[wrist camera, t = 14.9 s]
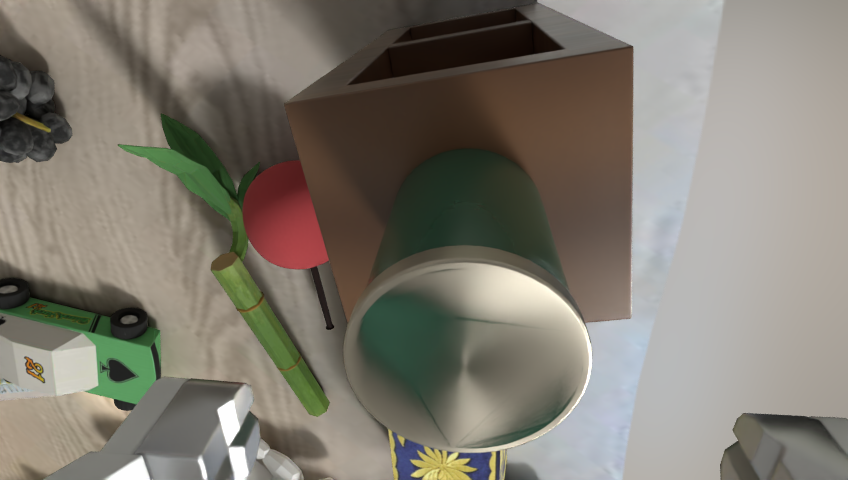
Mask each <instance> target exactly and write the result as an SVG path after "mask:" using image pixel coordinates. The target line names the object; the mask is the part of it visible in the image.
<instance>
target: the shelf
mask: <svg viewBox="0 0 848 480" xmlns="http://www.w3.org/2000/svg"><path fill="white" fill-rule="evenodd" d="M284 107H285V111H286V114H287V118H288V121H289V124H290V128H291V131H292V135H293V138H294V142H295V145H296V148H297V152H298V155H299V159H300V162H301V166H302V169H303V172H304V176H305V179H306V183H307V186H308V190H309V193H310V196H311V200H312V203H313V207H314V210H315V214H316V217H317V221H318V224H319V227H320V231H321V234H322V238H323V241H324V245H325V248H326V251H327V255H328V258H329V262H330V265H331V269H332V272H333V275H334V279H335V282H336V286H337V289H338V293H339V296H340V299H341V303H342V306H343V310H344V313H345V317H346V320H347V323H349V320H350V317H351V314H352V311H353V309H354V307H355V305H356V303H357V301H358V299H359V297H360V296H361V294H362V293H363V291H364V290H365V288H366V285H367V282H368V279H369V276H370V273H371V270H372V267H373V264H374V261H375V258H376V255H377V252H378V249H379V246H380V243H381V240H382V237H383V234H384V231H385V228H386V225H387V222H388V219H389V216H390V213H391V210H392V207H393V204H394V201H395V198H396V195H397V193H398V191H399V189H400V187H401V185H402V183H403V182H404V180H405V179H406V178H407V176H408V175H409V174H410V173H411V172H412V171H413V170H414V169H415V168H416V167H417V166H418V165H420V164H421V163H423V162H424V161H425V160H427V159H429V158H431V157H433V156H435V155H437V154H440V153H443V152H446V151H450V150H455V149H464V148H472V149H482V150H487V151H491V152H494V153H497V154H500V155H502V156H504V157H506V158H508V159H510V160H511V161H513V162H514V163H516V164H517V165H518V166H520V167H521V168H522V169H523V170H524V171H525V172H526V173H527V174H528V175H529V176H530V178H531V179H532V181H533V182H534V184H535V185H536V187H537V189H538V191H539V193H540V196H541V200H542V203H543V206H544V209H545V213H546V216H547V219H548V222H549V226H550V229H551V232H552V235H553V239H554V242H555V245H556V248H557V252H558V255H559V258H560V261H561V265H562V268H563V271H564V275H565V278H566V281H567V284H568V288H569V291H570V294H571V296H572V297H573V298H574V300H575V301H576V303H577V305H578V307H579V309H580V311H581V313H582V315H583V318H584V322H585V323H587V322H598V321H609V320H620V319H630V318H631V317H632V185H633V46H631V45H629V44H627V43H625V42H623V41H620V40H618V39H616V38H614V37H612V36H609V35H607V34H605V33H603V32H601V31H599V30H596V29H594V28H592V27H590V26H588V25H585V24H583V23H581V22H579V21H577V20H575V19H572V18H570V17H568V16H566V15H564V14H562V13H559V12H557V11H555V10H553V9H551V8H549V7H546V6H544V5H542V4H540V3H535V4H529V5H524V6H518V7H515V8H514V7H512V8H507V9H501V10H496V11H490V12H485V13H479V14H474V15H468V16H463V17H457V18H452V19H446V20H441V21H435V22H430V23H424V24H419V25H413V26H408V27H403V28H397V29H392V30H388V31H387V32H385V33H384V34H383V35H381V36H380V37H378V38H377V39H376V40H374V41H373V42H371V43H370V44H368V45H367V46H366V47H364V48H363V49H361V50H360V51H358V52H357V53H356V54H354V55H353V56H351V57H350V58H348V59H347V60H346V61H344V62H343V63H341V64H340V65H339V66H337V67H336V68H334V69H333V70H331V71H330V72H329V73H327V74H326V75H324V76H323V77H321V78H320V79H319V80H317V81H316V82H314V83H313V84H311V85H310V86H309V87H307V88H306V89H304V90H303V91H302V92H300V93H299V94H297V95H296V96H294V97H293V98H291V99H290V100H289V101H287V102H286V103H284Z"/></svg>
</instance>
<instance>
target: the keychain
mask: <svg viewBox="0 0 848 480" xmlns="http://www.w3.org/2000/svg"><path fill="white" fill-rule="evenodd" d="M65 395H68V394H65ZM49 396H55V395H51V394H47V393H42V392H38V391H34V390H30V389H26V388H22V387H19V386H17V385H15V384H13V383H9V382H6V381H5V380H4V379H3V378H1V377H0V400H13V399H25V398H37V397H49ZM60 396H61V395H60Z"/></svg>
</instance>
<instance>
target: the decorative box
mask: <svg viewBox="0 0 848 480" xmlns="http://www.w3.org/2000/svg"><path fill="white" fill-rule="evenodd" d="M388 434H389V442H390V450H391V459H392V467H393V475H394V480H504V478H505V470H506V462H507V449H505V450H500V451H495V452H485V453H459V452H449V451H443V450H438V449H434V448H430V447H426V446H423V445H420V444H418V443H415V442H412V441H410V440H408V439H406V438H404V437H402V436H400V435H398V434H396V433H394V432H393V431H391V430H390V429H388Z"/></svg>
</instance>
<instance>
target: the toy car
mask: <svg viewBox="0 0 848 480" xmlns="http://www.w3.org/2000/svg"><path fill="white" fill-rule="evenodd" d="M0 377H1V378H3V379H4V380H5V381H6V382H9V383H13V384H15V385H17V386H19V387H22V388H26V389H30V390H34V391H38V392H42V393H47V394H51V395H55V396H60V395H65V394H71V393H76V392H82V391H84V392H88V393H92V394H96V395H100V396H105V397H109V398H113V399H114V403H115V406H116V407H117V408H118V409H121V410H126V411H129V410H133V409H134V407H135V406H136V405H137V403H138V402H139V401H140V400H141V398H142V397H143V396H144V394H145V393H146V392H147V391H148V389H149V388H150V387H151V386H152V384H153V383H154V382H155V381H156V380H158V379H160V378H161V348H160V330H158V329H155V328H151V327H147V314H146V312H145V311H143V310H141V309H139V308H124V309H121V310H118V311H116V312H115V313H113V314H112V316H111V317H107V316H103V315H99V314H95V313H91V312H87V311H83V310H79V309H75V308H71V307H67V306H63V305H59V304H54V303H50V302H46V301H42V300H38V299H34V298H30V294H29V287H28V283H27V282H26V281H24V280H22V279H18V278H6V279H1V280H0Z"/></svg>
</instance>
